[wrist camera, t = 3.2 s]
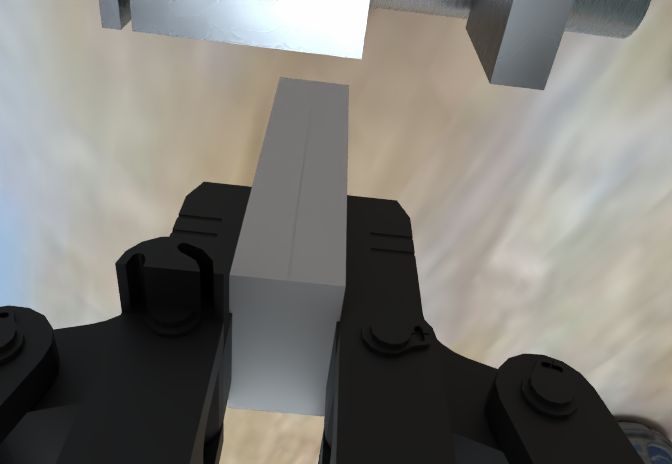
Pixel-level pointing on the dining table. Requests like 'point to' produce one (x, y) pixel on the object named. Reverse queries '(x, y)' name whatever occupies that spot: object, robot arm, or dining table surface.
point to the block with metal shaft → (527, 30)
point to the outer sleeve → (250, 22)
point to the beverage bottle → (648, 443)
